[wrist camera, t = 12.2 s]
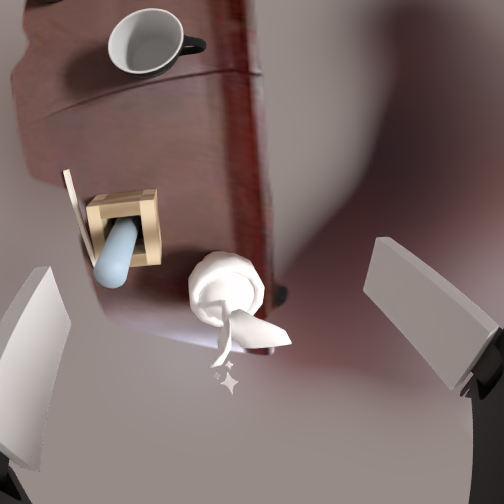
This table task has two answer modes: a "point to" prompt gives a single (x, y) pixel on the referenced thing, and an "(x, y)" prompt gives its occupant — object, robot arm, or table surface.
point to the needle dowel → (117, 252)
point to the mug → (150, 43)
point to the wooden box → (121, 206)
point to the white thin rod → (79, 216)
